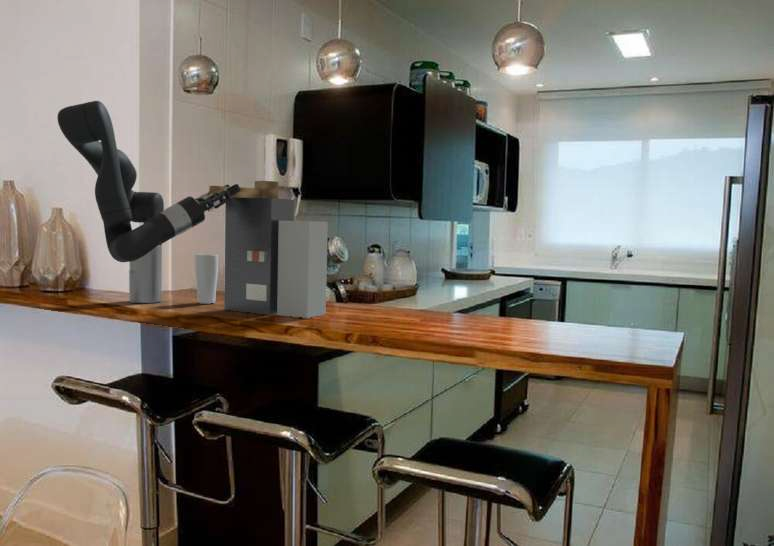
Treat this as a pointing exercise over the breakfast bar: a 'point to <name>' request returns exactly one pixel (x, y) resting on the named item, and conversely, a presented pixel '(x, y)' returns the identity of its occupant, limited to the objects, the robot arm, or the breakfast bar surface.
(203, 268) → the drinking glass
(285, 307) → the grey tall block
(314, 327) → the breakfast bar surface
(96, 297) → the breakfast bar surface
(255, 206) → the switch cabinet
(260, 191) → the oak bar
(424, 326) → the breakfast bar surface
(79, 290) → the breakfast bar surface
